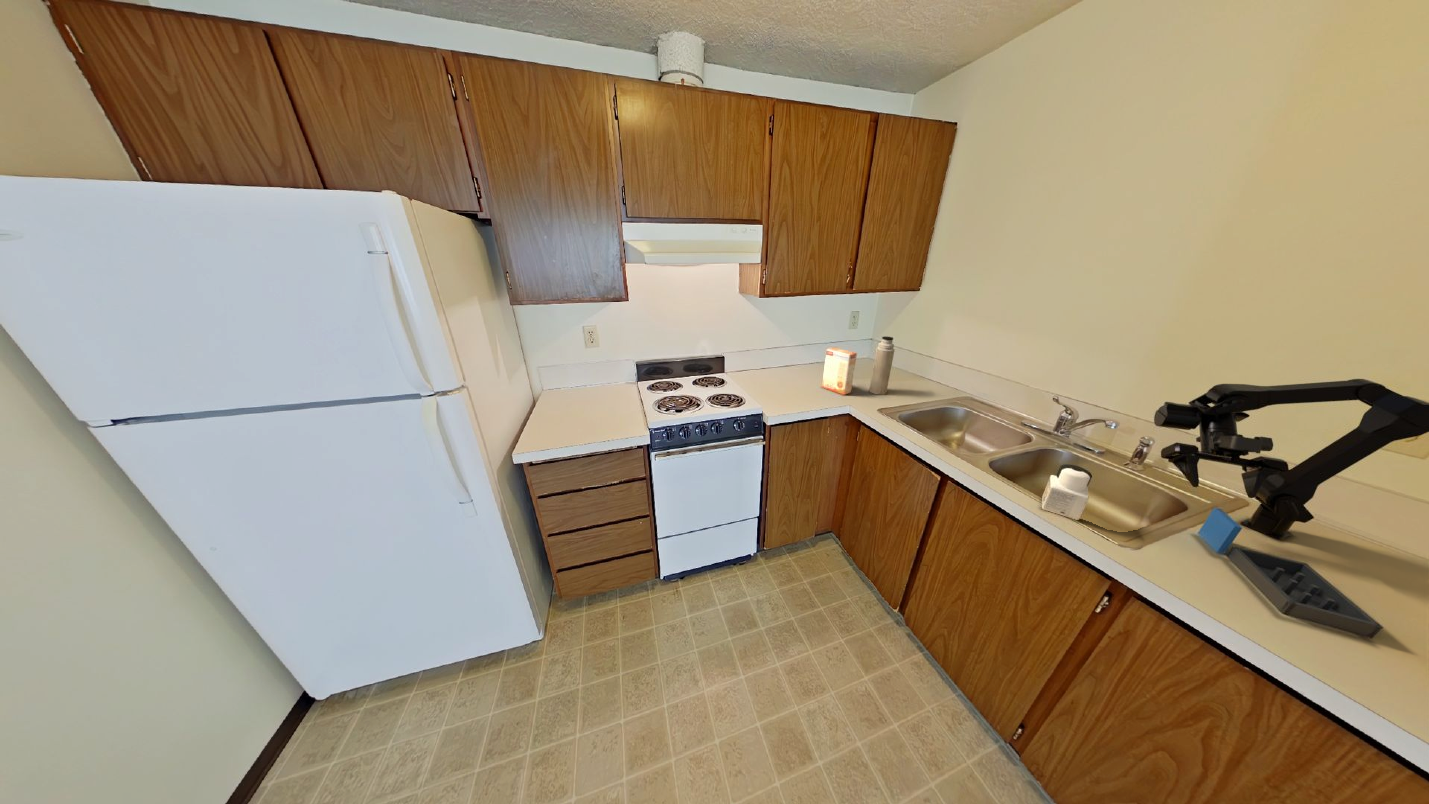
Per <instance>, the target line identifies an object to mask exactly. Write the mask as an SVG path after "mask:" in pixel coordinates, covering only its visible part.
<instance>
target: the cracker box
mask: <svg viewBox="0 0 1429 804" xmlns="http://www.w3.org/2000/svg"><path fill="white" fill-rule="evenodd" d="M857 355H858V352H854V351H850V350H846V349H842V348H838V347H835V346H834V347H828V348H826V353H825V359H824V368H823V376H822V384H821V388H824V389H826V390H829V391H831V392H834V393H838V394H840V395H842V396H845V395H848V394H851V393H852V387H853V381H854V375H855V369H856V368H855V367H856V362H857Z"/></svg>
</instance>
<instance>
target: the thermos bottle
mask: <svg viewBox="0 0 1429 804" xmlns="http://www.w3.org/2000/svg"><path fill="white" fill-rule="evenodd" d="M893 340H894V337H892V336H888V335H887V336H882V337H881V341H880V342H879V343H878V346H877V347H876V351H875V357H874V361H873V366H872V373H871V379H870V383H869V384H870V385H869V392H870V393H871V394H874V395H875V394H876V395H886V394H887V391H888V385H889V381H890V376H891V371H892V365H893V361H894V360H893V359H894V355H895V348H894V347H895V344H894V343H893Z"/></svg>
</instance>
